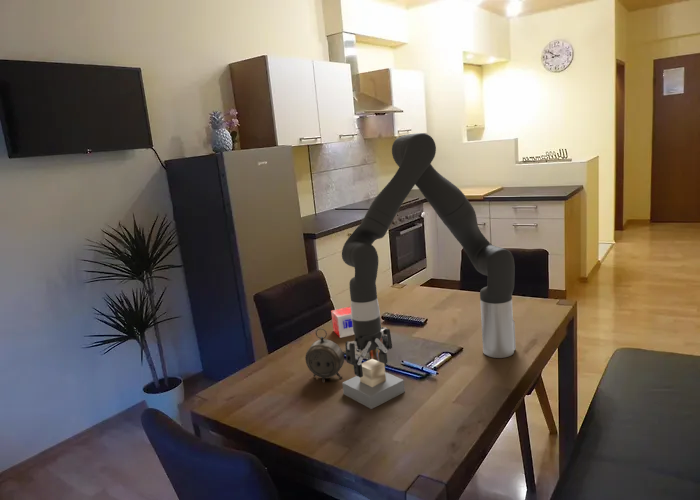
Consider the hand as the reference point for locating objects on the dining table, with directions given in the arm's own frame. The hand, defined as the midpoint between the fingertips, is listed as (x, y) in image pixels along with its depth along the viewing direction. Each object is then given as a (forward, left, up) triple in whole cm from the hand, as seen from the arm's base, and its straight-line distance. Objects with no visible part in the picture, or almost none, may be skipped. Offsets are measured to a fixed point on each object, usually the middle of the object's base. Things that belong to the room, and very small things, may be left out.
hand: (371, 370), depth 143 cm
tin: (-16, -17, -7) cm, 24 cm away
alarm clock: (+4, -17, -7) cm, 19 cm away
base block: (0, 0, -7) cm, 7 cm away
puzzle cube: (-23, -42, -7) cm, 48 cm away
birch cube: (0, 0, -3) cm, 3 cm away
